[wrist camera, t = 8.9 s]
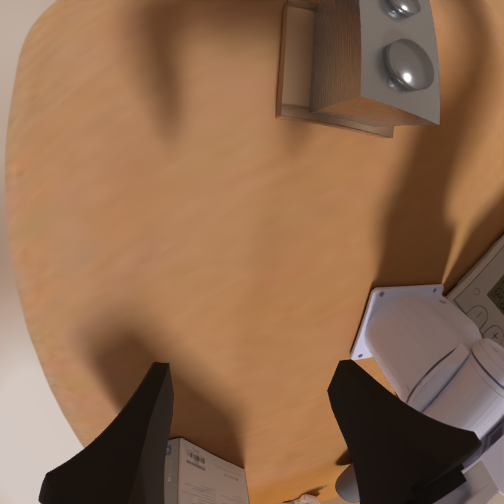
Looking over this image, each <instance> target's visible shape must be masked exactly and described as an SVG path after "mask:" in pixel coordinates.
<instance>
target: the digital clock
mask: <svg viewBox="0 0 504 504" xmlns="http://www.w3.org/2000/svg"><path fill="white" fill-rule="evenodd" d="M445 298H446V299H447V300H449V301H450V302H451V303H452V304H453V305H455V306H456V307H457V308H458V309H459V310H460V311H462V312H463V313H464V314H465V315H466V316H467V317H469V318H470V319H471V320H472V321H473V322H474V323H475V324H476V325H477V327H478V329H479V331H480V334H481V338H482V339H483V338H489V339H491V340H493V341H495V342H496V343H498V344H499V345H500V346H502V347H503V348H504V234H503V235H502V237H501V238H500V239H499V240H497V241H496V242H495V243H494V244H493V245H492V246H491V248H490V249H489V250H488V251H487V252H486V253H485V254H484V256H483V257H482V258H481V259H480V260H479V261H478V262H477V263H476V264H475V265H474V266H473V267H472V269H471V270H470V271H469V272H468V273H467V274H466V275H465V276H464V277H463V278H462V279H461V280H460V281H459V282H458V283H457V286H456V287H455V288H454V289H453V290H452V291H451V292H450V293H448V294H447V295H446V296H445Z"/></svg>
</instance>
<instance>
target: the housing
mask: <svg viewBox="0 0 504 504" xmlns="http://www.w3.org/2000/svg"><path fill="white" fill-rule="evenodd" d="M309 113H311V114H316V115H322V116H327V117H332V118H337V119H341V120H346V121H350V122H354V123H359V124H363V125H367V126H370V127H380V126H400V125H440V78H439V62H438V51H437V42H436V35H435V28H434V22H433V16H432V11H431V6H430V1H429V0H321V1H320V2H319V4H318V5H317V6H316V7H315V9H314V22H313V52H312V73H311V89H310V104H309Z"/></svg>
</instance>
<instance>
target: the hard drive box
mask: <svg viewBox="0 0 504 504" xmlns="http://www.w3.org/2000/svg"><path fill="white" fill-rule="evenodd" d="M164 497H165V504H250V502H249V496H248V489H247V482H246V475H245V470H244V469H242V468H240V467H238V466H236V465H234V464H232V463H230V462H227V461H225V460H223V459H220V458H218V457H217V456H214V455H213V454H211V453H209V452H207V451H205V450H204V449H202V448H200V447H198V446H196V445H194V444H192V443H190V442H188V441H187V440H185V439H183V438H176V439H172V440H168V445H167V451H166V458H165V473H164Z"/></svg>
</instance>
